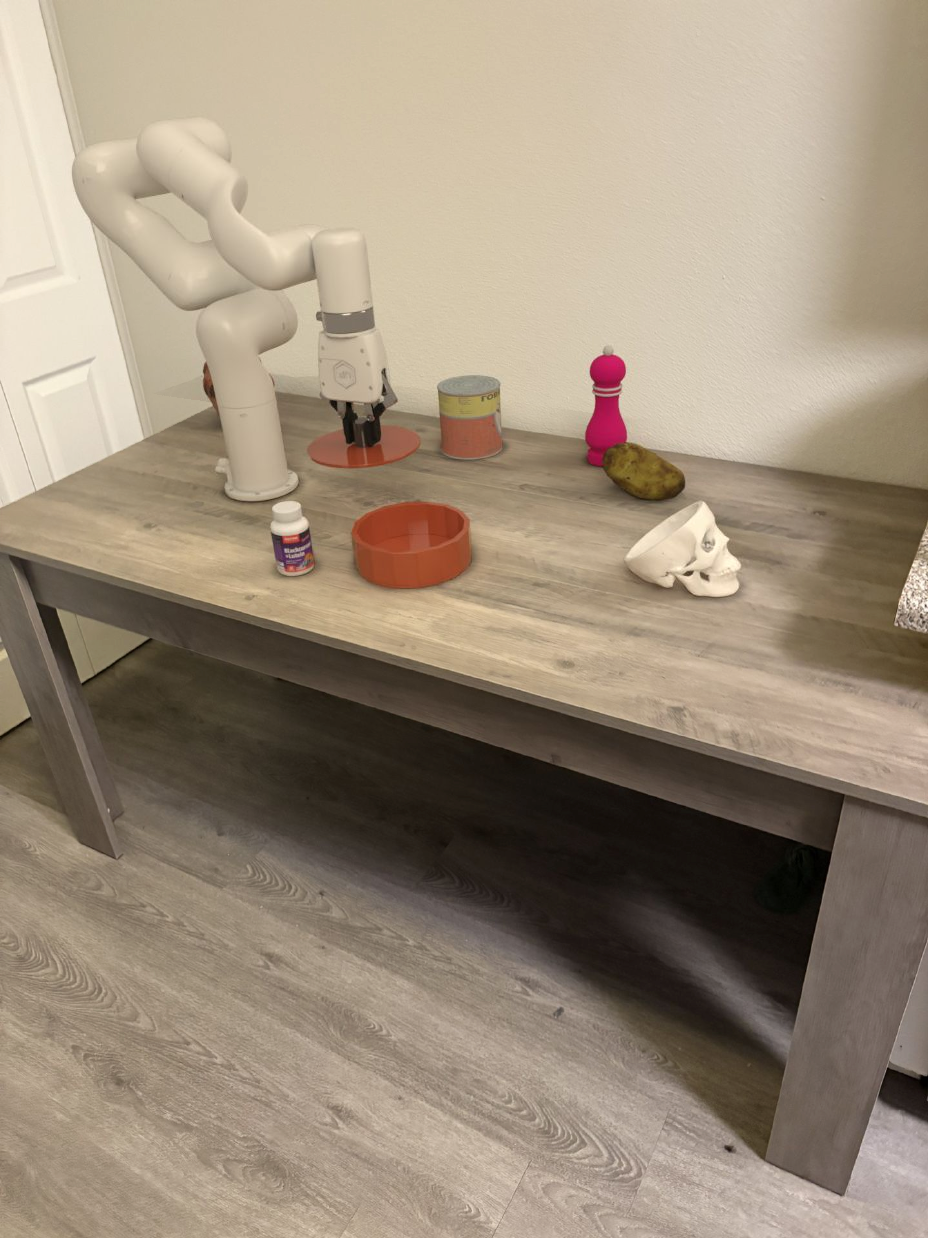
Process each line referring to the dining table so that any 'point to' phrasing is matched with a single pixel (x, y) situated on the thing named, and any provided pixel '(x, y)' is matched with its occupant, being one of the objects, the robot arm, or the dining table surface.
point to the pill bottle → (291, 539)
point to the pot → (412, 544)
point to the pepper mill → (605, 406)
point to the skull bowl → (686, 554)
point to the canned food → (470, 417)
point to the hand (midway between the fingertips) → (363, 441)
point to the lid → (363, 447)
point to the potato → (642, 472)
